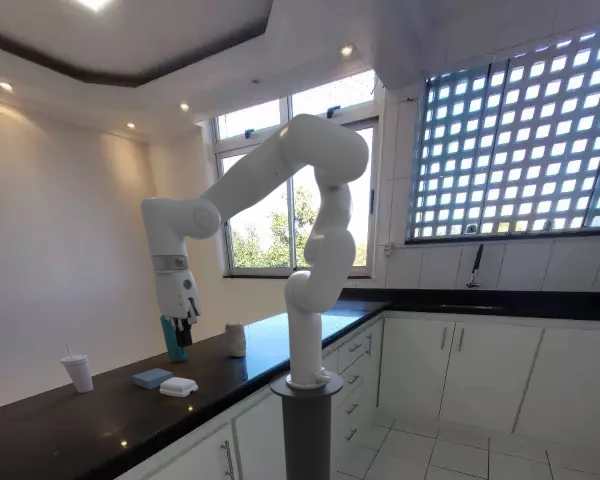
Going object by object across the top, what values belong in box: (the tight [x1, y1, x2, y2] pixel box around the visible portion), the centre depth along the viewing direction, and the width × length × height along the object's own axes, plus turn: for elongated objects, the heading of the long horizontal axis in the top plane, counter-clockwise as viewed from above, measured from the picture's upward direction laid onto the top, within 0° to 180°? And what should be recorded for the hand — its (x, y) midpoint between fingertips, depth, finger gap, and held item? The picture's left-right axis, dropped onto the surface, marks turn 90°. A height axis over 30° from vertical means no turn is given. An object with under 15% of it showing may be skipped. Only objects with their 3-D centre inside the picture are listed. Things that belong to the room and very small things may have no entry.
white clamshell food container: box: [159, 376, 199, 398], centre depth 86 cm, size 9×7×3 cm
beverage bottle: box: [159, 313, 188, 361], centre depth 105 cm, size 6×7×20 cm
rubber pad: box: [132, 367, 174, 390], centre depth 92 cm, size 8×8×2 cm
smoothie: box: [59, 341, 94, 394], centre depth 86 cm, size 6×6×14 cm
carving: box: [224, 321, 247, 358], centre depth 111 cm, size 6×8×12 cm
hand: (185, 345), depth 76 cm, fingers closed
